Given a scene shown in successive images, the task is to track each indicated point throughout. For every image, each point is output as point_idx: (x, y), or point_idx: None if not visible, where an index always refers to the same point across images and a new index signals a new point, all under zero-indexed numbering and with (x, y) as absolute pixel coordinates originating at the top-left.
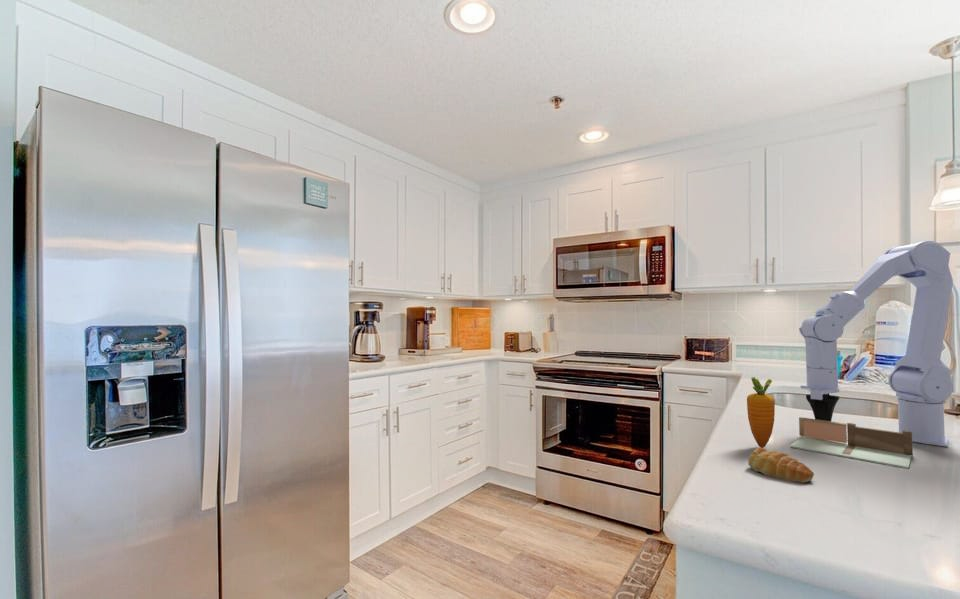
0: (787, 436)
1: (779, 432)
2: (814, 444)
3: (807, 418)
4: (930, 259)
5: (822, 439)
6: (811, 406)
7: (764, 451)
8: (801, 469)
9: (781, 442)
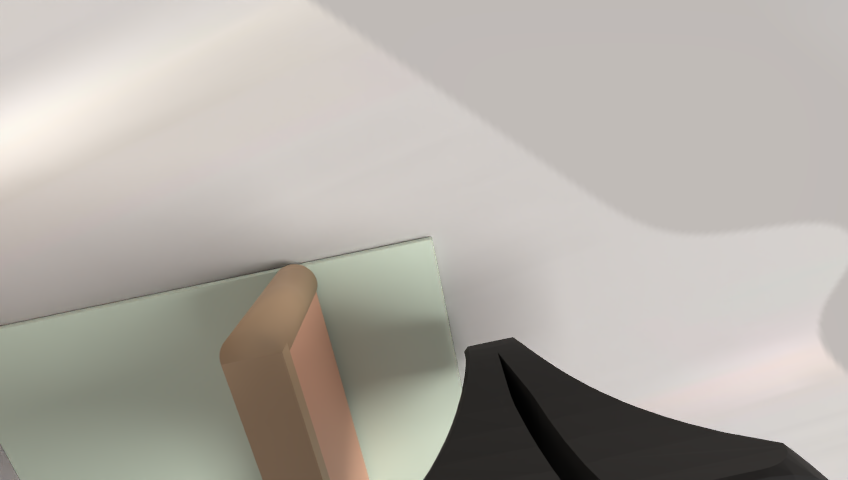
0: (253, 187)
1: (329, 87)
2: (154, 407)
3: (272, 399)
4: None
5: (350, 379)
6: (431, 467)
7: None
8: None
9: (21, 243)
